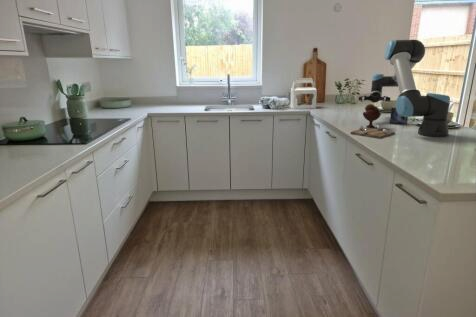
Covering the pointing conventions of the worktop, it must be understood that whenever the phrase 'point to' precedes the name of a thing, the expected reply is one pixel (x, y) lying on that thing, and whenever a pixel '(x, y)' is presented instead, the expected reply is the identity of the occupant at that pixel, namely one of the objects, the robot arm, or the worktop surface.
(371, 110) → the ice cream bowl
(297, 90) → the white lantern
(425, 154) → the worktop surface
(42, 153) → the worktop surface
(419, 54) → the robot arm
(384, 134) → the stub board
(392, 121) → the small box
